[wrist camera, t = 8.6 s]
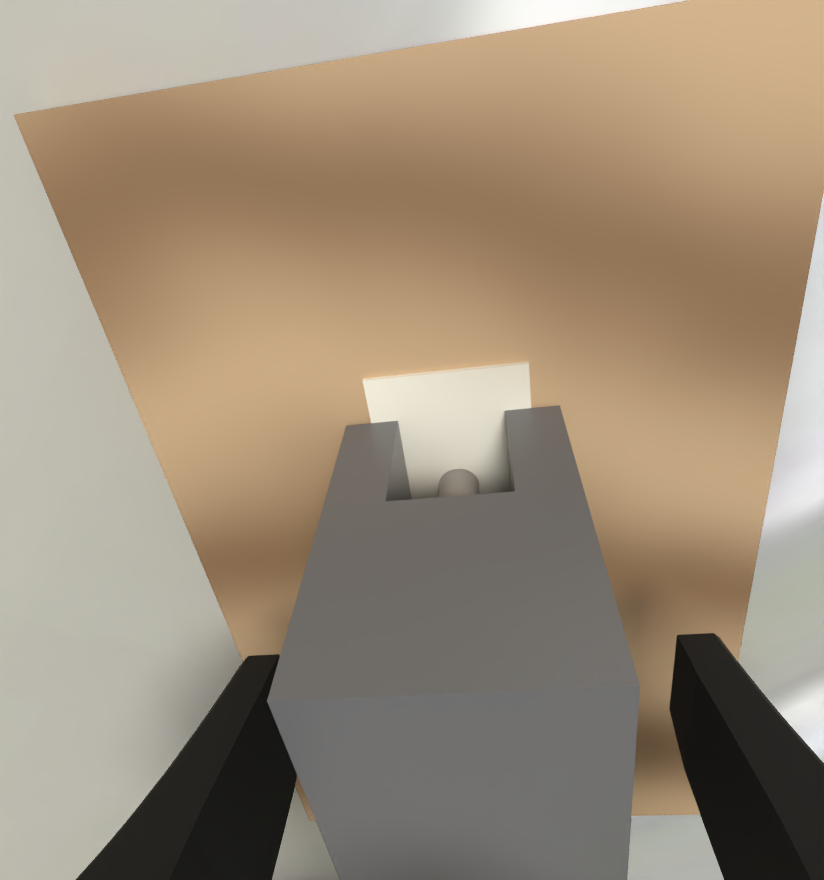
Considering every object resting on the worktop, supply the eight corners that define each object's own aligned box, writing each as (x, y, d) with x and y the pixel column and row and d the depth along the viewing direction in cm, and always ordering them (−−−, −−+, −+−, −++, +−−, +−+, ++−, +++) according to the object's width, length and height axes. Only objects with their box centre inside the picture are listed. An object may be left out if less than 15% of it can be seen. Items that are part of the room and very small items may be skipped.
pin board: (698, 780, 19) (735, 892, 17) (315, 789, 21) (296, 892, 18) (825, -23, 9) (969, -48, 7) (49, 109, 11) (-81, 130, 8)
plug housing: (566, 687, 16) (619, 993, 11) (407, 693, 16) (385, 989, 11) (559, 405, 12) (640, 686, 7) (346, 425, 12) (266, 701, 7)
